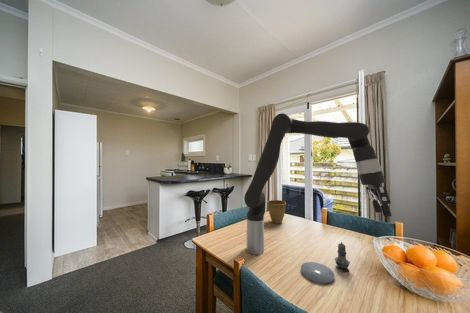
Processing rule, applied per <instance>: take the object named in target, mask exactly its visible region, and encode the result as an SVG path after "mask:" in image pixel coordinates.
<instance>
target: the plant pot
mask: <svg viewBox="0 0 470 313" xmlns="http://www.w3.org/2000/svg"><path fill="white" fill-rule="evenodd" d="M266 204H267V209H268V213H269V216H270V219H271V222H272V223H273V222H274V223H273V224H276V223H280V224H281V223H283V220H284V217H285V213H286V207H287V202H286V201H285V200H281V199H279V200H278V199H271V200H267V202H266Z"/></svg>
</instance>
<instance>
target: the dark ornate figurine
mask: <svg viewBox="0 0 470 313" xmlns="http://www.w3.org/2000/svg"><path fill="white" fill-rule="evenodd" d="M337 245H338V246H337V257H334V261H335V263H336V265H335V269H336V270H337V271H339V272H342V273H349V272H350V269H349V266H350V265H351V264H350V260H348V259H347V251H346V245H345V244H344V243H343V242H342V241H341V242H340V243H338V244H337Z"/></svg>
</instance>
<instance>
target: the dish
mask: <svg viewBox="0 0 470 313" xmlns="http://www.w3.org/2000/svg"><path fill="white" fill-rule="evenodd" d="M300 271H301V274H302V275H303V277H304V278H305V279H307V280H309V281H310V282H312V283H315V284H319V285H329V284H332V283H333V282H334V281H335V273H334V271H333V270H332V269H331V268H329V267H328V266H327V265H325V264H323V263H319V262H314V261H306V262H303V263H301V266H300Z"/></svg>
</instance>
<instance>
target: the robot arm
mask: <svg viewBox="0 0 470 313" xmlns="http://www.w3.org/2000/svg"><path fill="white" fill-rule="evenodd" d="M286 134H303V135H309V136H310V135H311V136H314V137H315V136H317V137H322V138H330V139H338V138H343V139H347V140H348V143H349V146H350V147H351V150H352V155H353V157H354V158H353V159H354V160H355V165H356V170H357V174H358V178H359V181H360V183H361V186H365V190H366V194H367V197H368V200H369V201H370V203H371V204H372V207H373V210H374V213H382V216H383V217H385V218H387V217H388V218H389V217H392V212H391V209H390V206H389V205H391V204H392V201H391V199H390V197H389V196H390V195H389V194H388V192H387V188H386V187H385V186H381V184H384V183H386V180H385V176H384V173H383V169H382V166H381V164H380V162H379V160H378V157H377V155H376V151H375V149H374V147H373V146H372V145H371V143H370V140H369V134H370V128H369V126H368V124H365V123H363V122H358V121H349V122H348V121H346V122H345V121H343V122H337V121H327V120H312V121H311V120H308V121H307V120H306V121H305V120H298V119H295V118H292V117H290V116H289V115H288V114H287V113H283V112H282V113H278V114H276V116H275V117H274V118H273V119H272V121H271V125H270V130H269V134H268V137H267V139H266V142H265V144H264V147H263V150H262V152H261V155H260V157H259V160H258V163H257V165H256V168H255V171H254V174H253V177H252V180H251V182H250V184H249V185H248V188H247V189H246V192H245V194H244V199H243V200H244V204H245V205H246V206H247V207H248V208H249V210H248V211H247V213H246V252H247V254H251V255H253V256H257V255H261V254H264V252H265V229H264V228H265V224H264V222H265V219H264V218H265V213H266V195H265V192H264V187H265V185H266V184H267V183H268V181H269V180H270V178H271V177H272V176H273V173H274V172H275V170H276V167H277V165H278V162H279V160H280V153H281V152H280V151H281V145H282V143H283V140H284V138H285V136H286Z"/></svg>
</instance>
